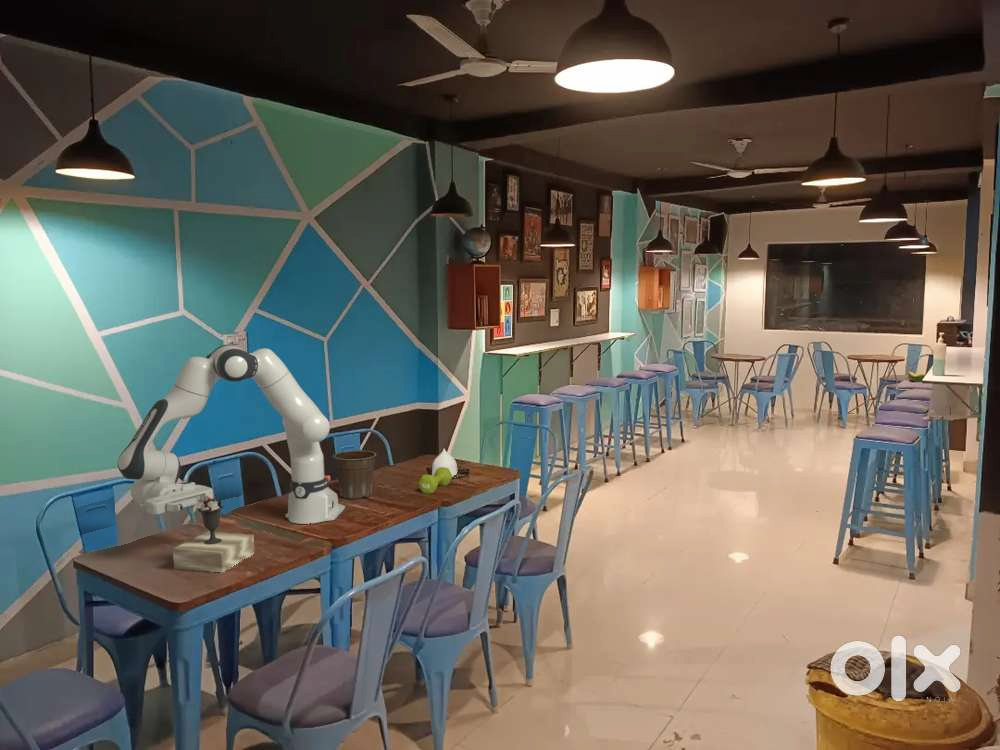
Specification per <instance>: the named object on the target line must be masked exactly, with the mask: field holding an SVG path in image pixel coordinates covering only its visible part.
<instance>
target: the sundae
mask: <svg viewBox="0 0 1000 750" xmlns="http://www.w3.org/2000/svg"><path fill="white" fill-rule="evenodd" d="M202 495H205V494H202ZM205 496H206V495H205ZM205 496H204V497H205ZM206 497H207V496H206ZM223 508H224V507H223V505H222V499H219V501H217V500H215V499H214V498H213V499H211V498H208V500H205V499H204V501H203V503H202V504H201V506H200V508H199V509H198V512H199V513H201V516H202V521H203V526H204V527H205V529H207V531H210V539H208V540H206V541H205V542H204V543H205V544H217V543H220V542H221V541H222V539H219V538H216V537H215V532H216V531H215V530H216V529H217V528H218V527H219V526H220V520H221V511H222V509H223Z"/></svg>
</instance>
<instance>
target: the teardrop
mask: <svg viewBox="0 0 1000 750" xmlns="http://www.w3.org/2000/svg"><path fill="white" fill-rule="evenodd" d="M455 459H456V458H454V457H453V455H451V454H450V453H448V452H447V451H446V449H445V448H443V450H442V452H440V454H438V455H437V456H436V457H435V458H434V460H433V462H432V464H431V466H432V467H431V475H433V476H434V473H435V471H436V470H437V469H438V468H440V467H444V468H448V469H449V470H450V472H451V474H452V477H453V476H454V475H456V474H457V472H458V464H457V461H456V460H455Z"/></svg>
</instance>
